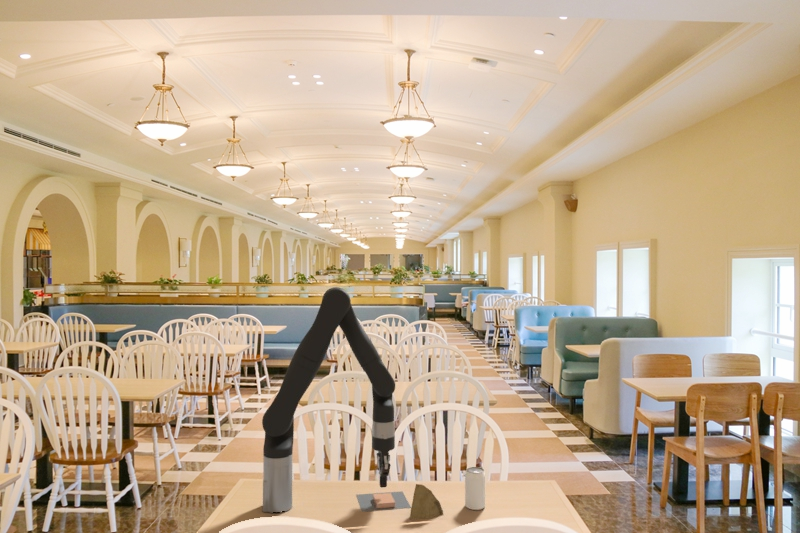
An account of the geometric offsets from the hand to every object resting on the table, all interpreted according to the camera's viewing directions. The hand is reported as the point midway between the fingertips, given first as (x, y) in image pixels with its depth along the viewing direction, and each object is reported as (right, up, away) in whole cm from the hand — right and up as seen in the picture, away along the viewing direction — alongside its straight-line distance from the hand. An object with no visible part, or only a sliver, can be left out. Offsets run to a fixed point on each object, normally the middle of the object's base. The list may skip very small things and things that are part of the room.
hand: (383, 486), depth 194 cm
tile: (0, -4, +2) cm, 5 cm away
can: (+30, -6, -2) cm, 31 cm away
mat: (0, -6, 0) cm, 6 cm away
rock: (+14, -6, -11) cm, 19 cm away
